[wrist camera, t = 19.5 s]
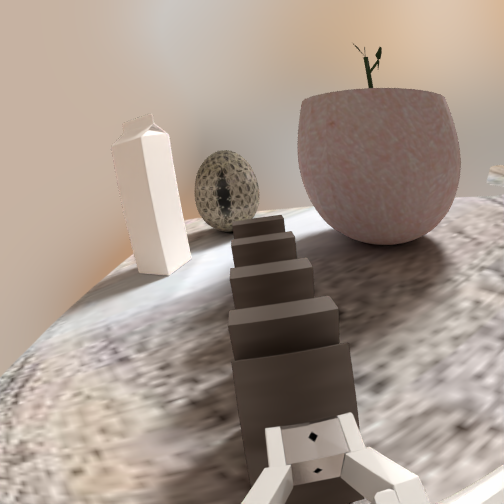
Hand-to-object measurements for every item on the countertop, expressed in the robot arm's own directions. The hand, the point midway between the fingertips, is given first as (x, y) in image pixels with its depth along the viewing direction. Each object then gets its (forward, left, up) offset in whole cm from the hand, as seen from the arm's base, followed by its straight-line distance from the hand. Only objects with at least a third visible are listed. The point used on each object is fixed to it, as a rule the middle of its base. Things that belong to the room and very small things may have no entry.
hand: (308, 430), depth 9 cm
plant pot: (-19, -34, -7) cm, 39 cm away
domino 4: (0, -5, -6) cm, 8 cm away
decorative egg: (+4, -49, -7) cm, 50 cm away
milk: (+14, -35, -7) cm, 38 cm away
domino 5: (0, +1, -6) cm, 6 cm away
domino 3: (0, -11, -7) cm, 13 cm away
